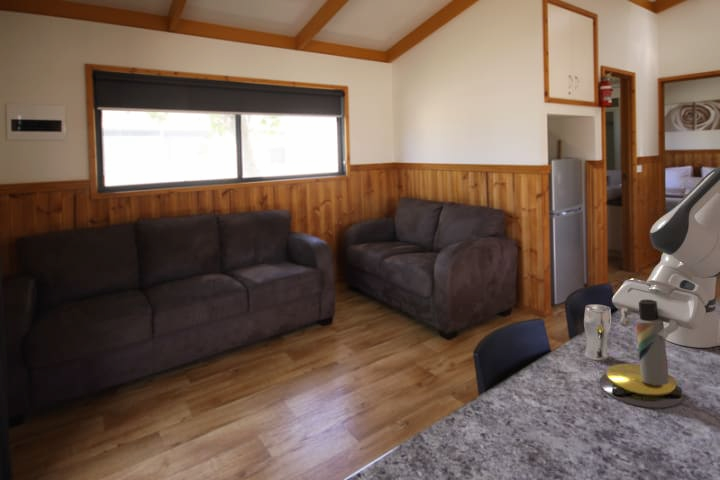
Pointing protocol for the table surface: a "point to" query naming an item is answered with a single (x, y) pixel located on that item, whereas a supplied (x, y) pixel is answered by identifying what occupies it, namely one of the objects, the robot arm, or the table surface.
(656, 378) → the lotion bottle
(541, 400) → the table surface
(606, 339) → the beer glass
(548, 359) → the table surface
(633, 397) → the levelling base
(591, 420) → the table surface
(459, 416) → the table surface
